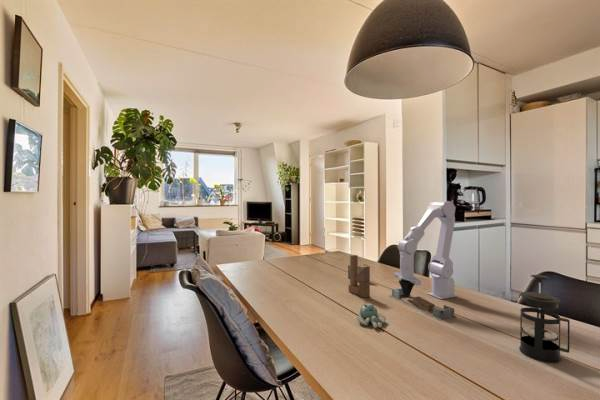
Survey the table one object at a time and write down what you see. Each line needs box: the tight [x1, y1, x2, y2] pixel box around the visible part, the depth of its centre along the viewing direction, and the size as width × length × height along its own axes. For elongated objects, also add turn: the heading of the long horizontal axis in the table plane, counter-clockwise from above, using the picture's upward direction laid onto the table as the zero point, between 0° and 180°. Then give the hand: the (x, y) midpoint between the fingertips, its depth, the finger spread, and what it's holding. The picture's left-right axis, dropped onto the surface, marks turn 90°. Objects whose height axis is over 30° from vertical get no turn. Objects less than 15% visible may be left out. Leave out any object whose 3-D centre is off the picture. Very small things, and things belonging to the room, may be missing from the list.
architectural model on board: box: [347, 263, 369, 282], centre depth 162 cm, size 11×3×10 cm, turn 48°
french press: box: [518, 274, 571, 364], centre depth 84 cm, size 12×9×23 cm
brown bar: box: [412, 296, 436, 313], centre depth 121 cm, size 3×10×3 cm, turn 12°
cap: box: [391, 287, 404, 299], centre depth 134 cm, size 6×4×3 cm, turn 111°
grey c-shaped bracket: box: [432, 304, 455, 321], centre depth 112 cm, size 6×4×3 cm, turn 111°
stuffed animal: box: [356, 303, 386, 329], centre depth 106 cm, size 11×7×12 cm
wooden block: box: [348, 254, 371, 299], centre depth 137 cm, size 4×11×18 cm, turn 33°
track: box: [388, 294, 457, 321], centre depth 123 cm, size 9×29×1 cm, turn 21°
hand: (406, 296), depth 130 cm, fingers closed
